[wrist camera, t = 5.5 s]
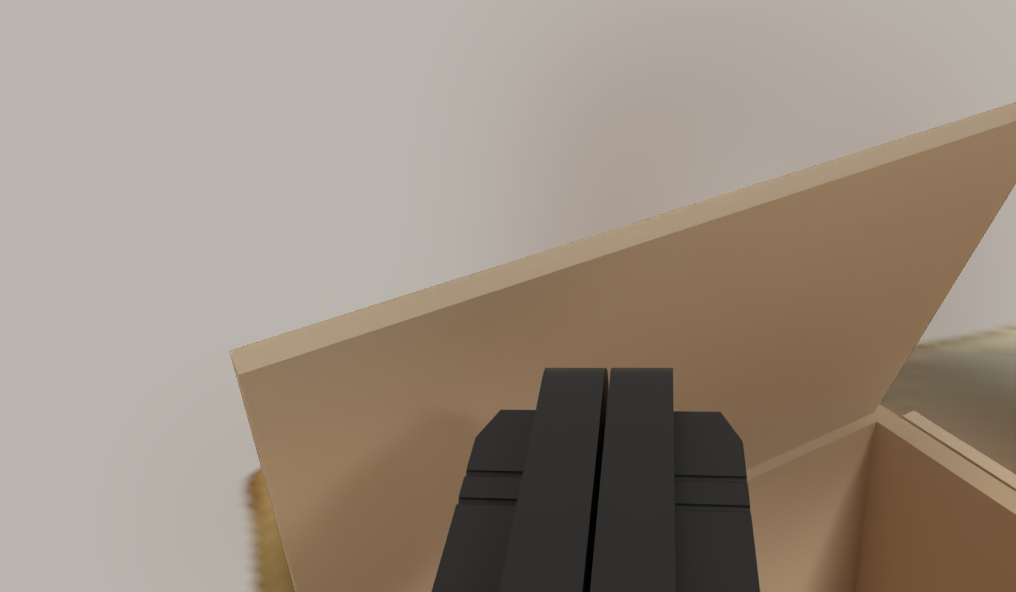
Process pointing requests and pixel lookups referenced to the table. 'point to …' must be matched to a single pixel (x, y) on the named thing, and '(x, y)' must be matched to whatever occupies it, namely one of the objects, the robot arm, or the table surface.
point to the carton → (884, 512)
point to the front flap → (619, 341)
